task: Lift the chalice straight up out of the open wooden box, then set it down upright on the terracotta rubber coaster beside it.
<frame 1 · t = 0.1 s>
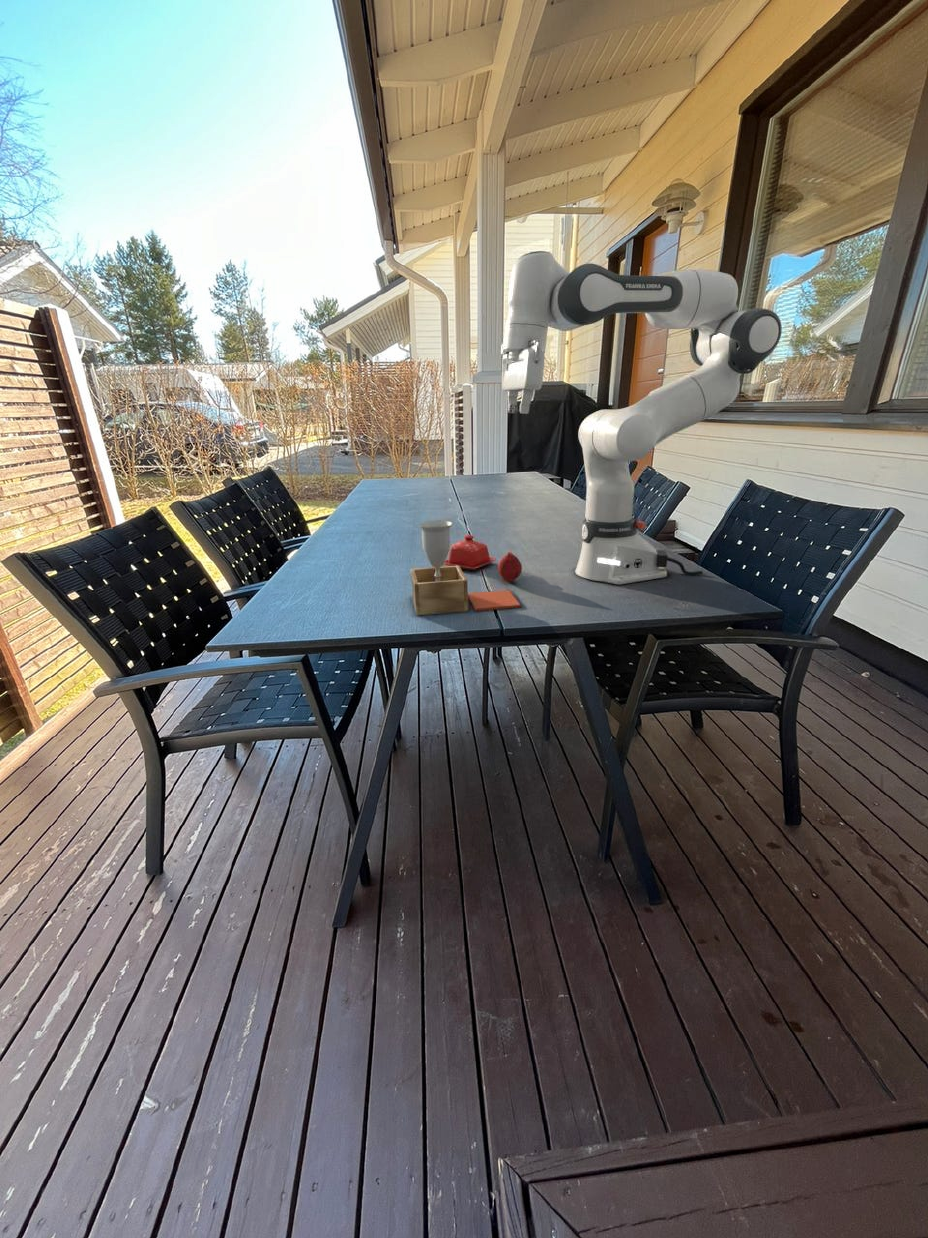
hand: (517, 413, 116), 39 cm above the table, tool pointing down, fingers open, 8 cm apart
onion: (509, 583, 130), on the table
open wooden box: (439, 604, 117), on the table
butter dish: (469, 566, 144), on the table
chalice: (439, 605, 117), resting in open wooden box
coaster: (492, 601, 118), on the table
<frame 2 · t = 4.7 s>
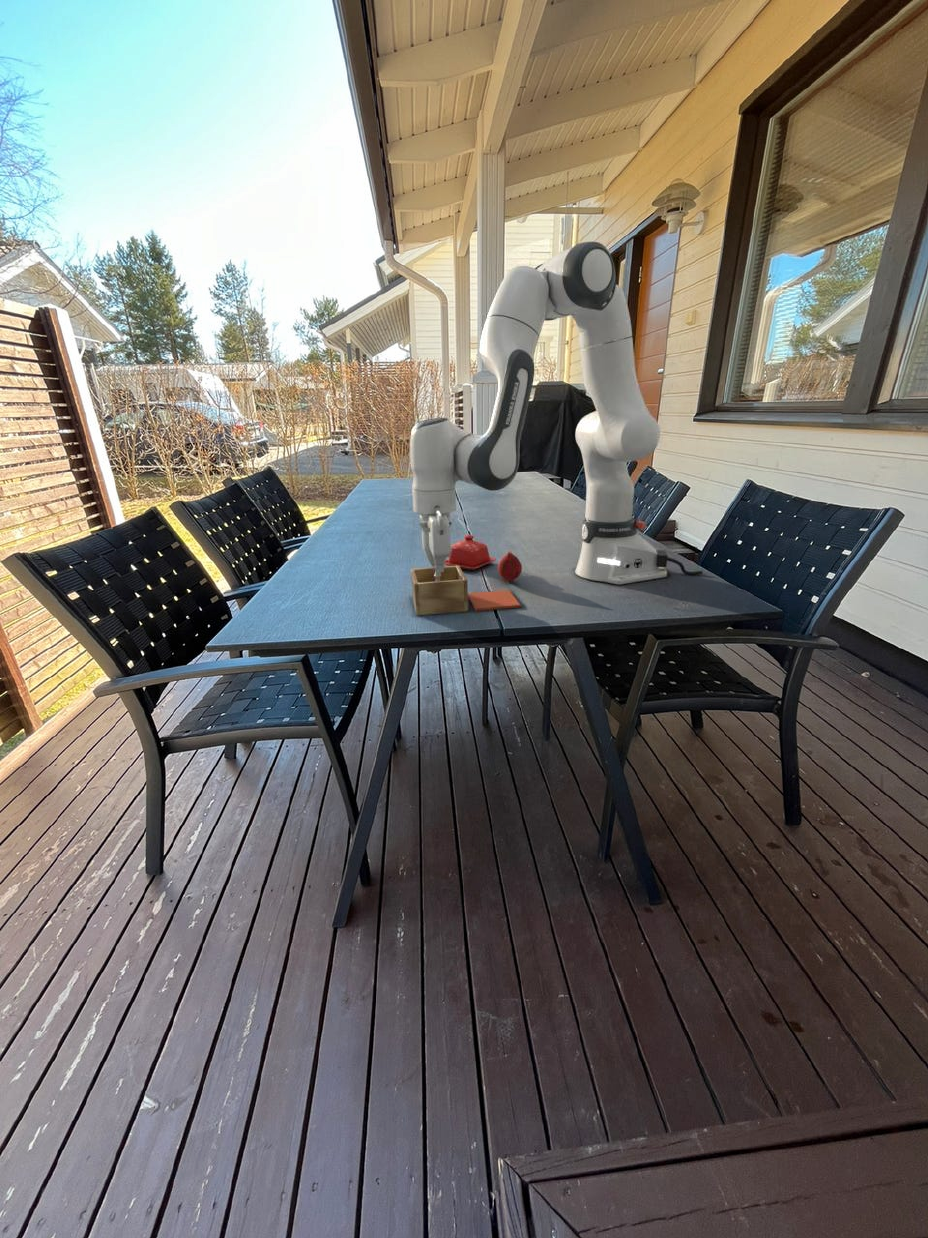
hand: (437, 567, 113), 9 cm above the table, tool pointing down, fingers closed on chalice, 5 cm apart
chalice: (439, 605, 117), resting in open wooden box, touching gripper
everything else where it was.
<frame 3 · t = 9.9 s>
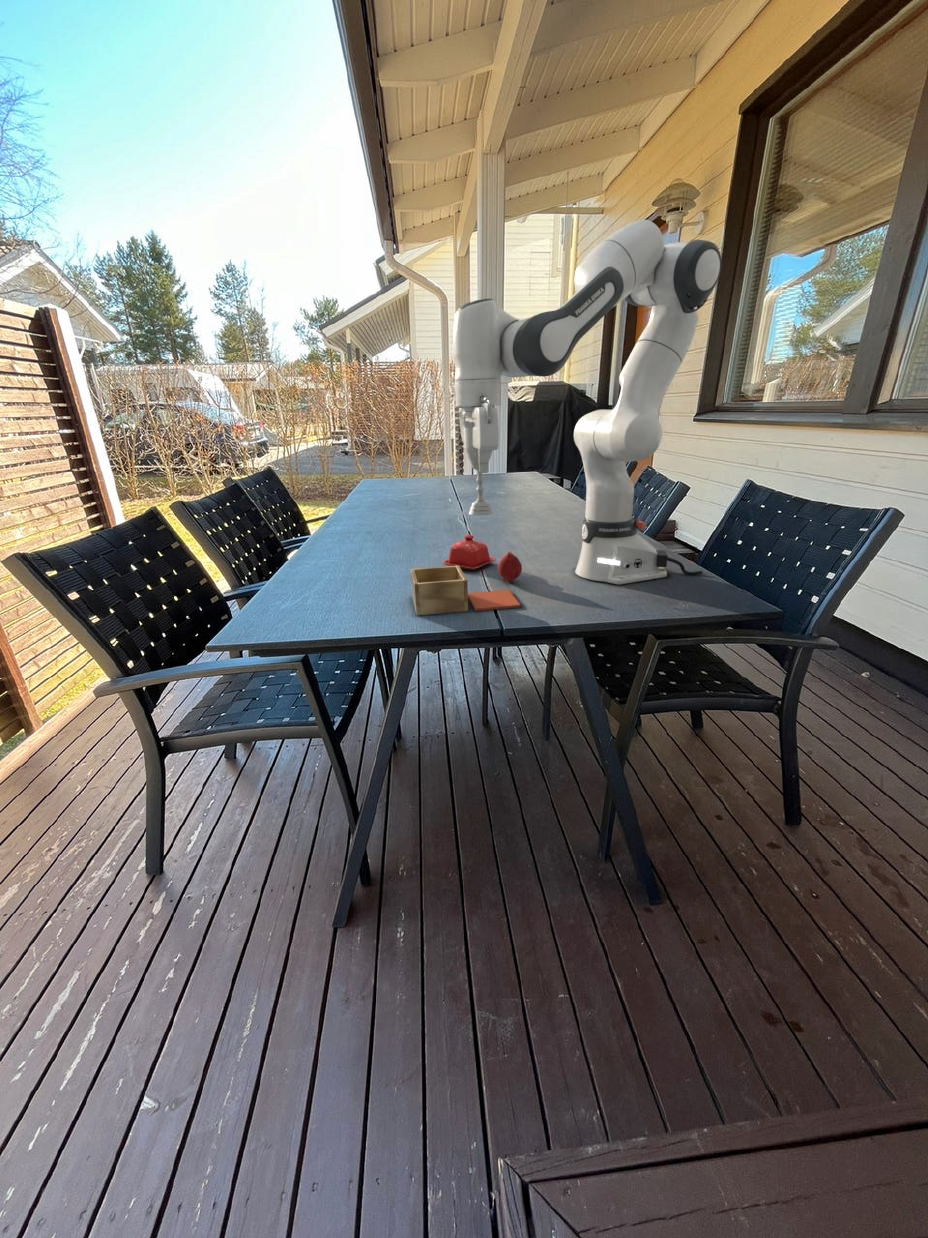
hand: (479, 470, 107), 29 cm above the table, tool pointing down, fingers closed on chalice, 5 cm apart
chalice: (480, 513, 110), point 20 cm above the table, touching gripper
everything else where it was.
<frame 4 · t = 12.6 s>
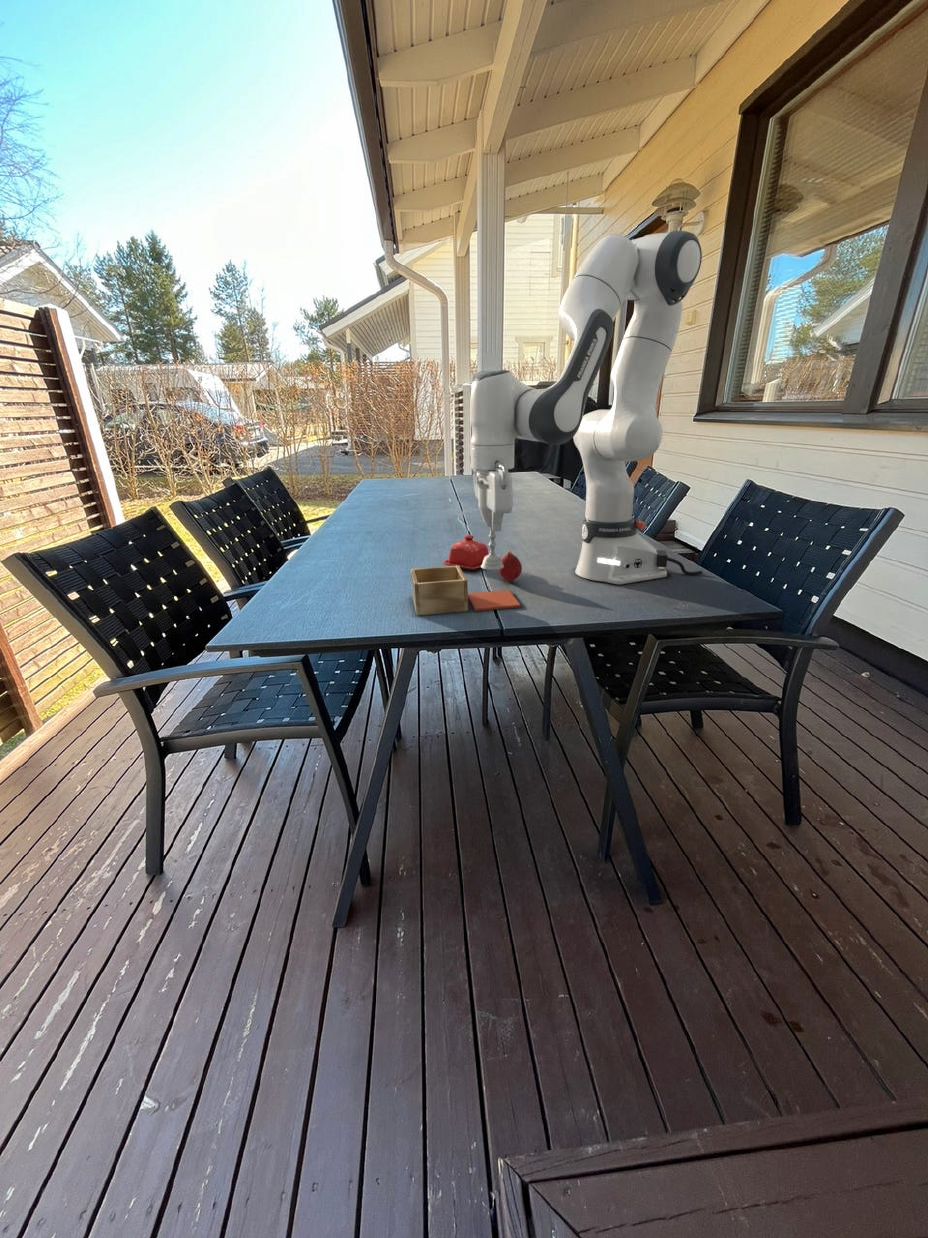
hand: (492, 527, 111), 17 cm above the table, tool pointing down, fingers closed on chalice, 5 cm apart
chalice: (492, 567, 114), point 8 cm above the table, touching gripper
everything else where it was.
when the fingers open (9 cm above the table, at t = 14.9 s): chalice stays where it is, resting on coaster.
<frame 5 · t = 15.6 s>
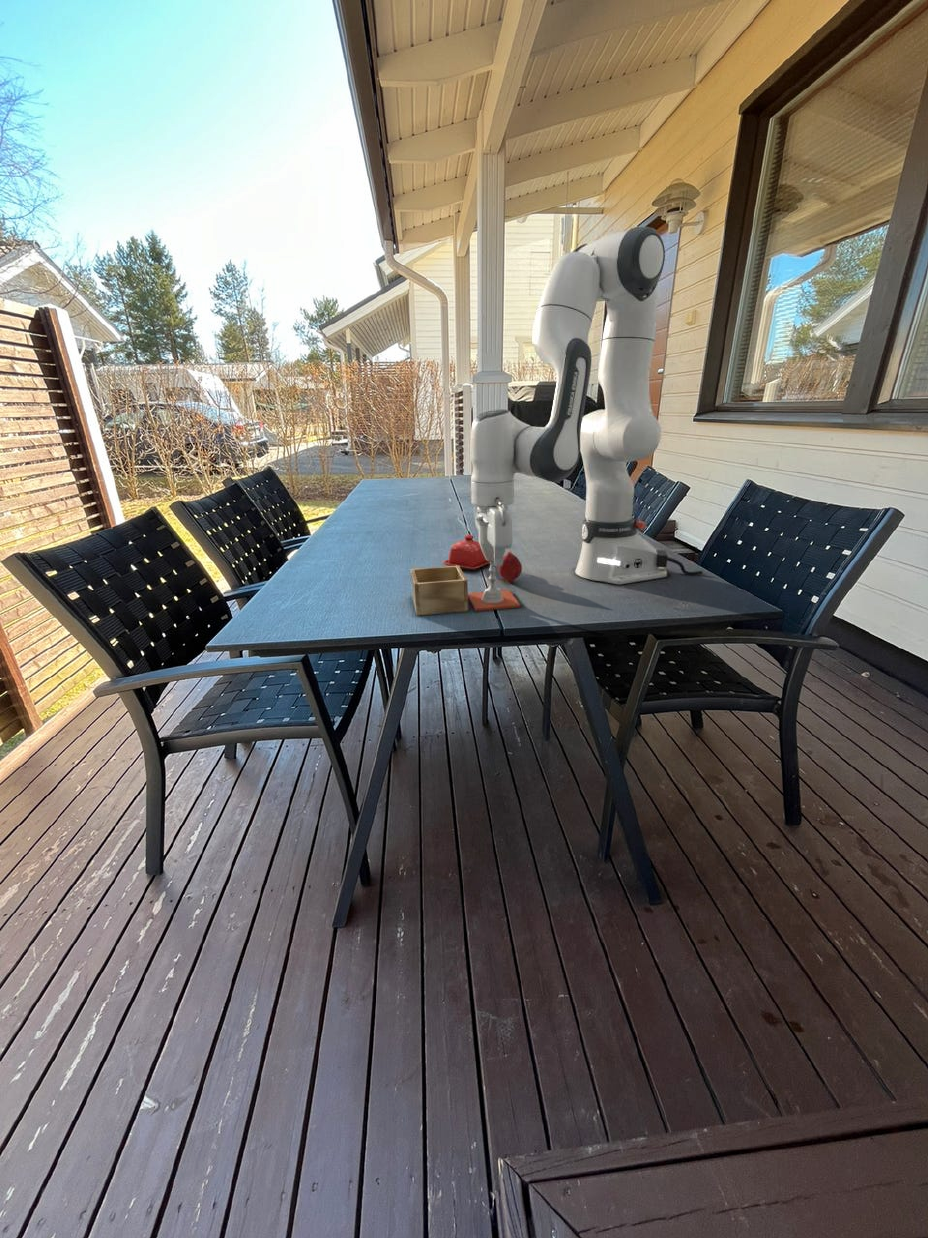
hand: (492, 559, 114), 10 cm above the table, tool pointing down, fingers open, 8 cm apart
chalice: (492, 599, 117), resting on coaster
everything else where it was.
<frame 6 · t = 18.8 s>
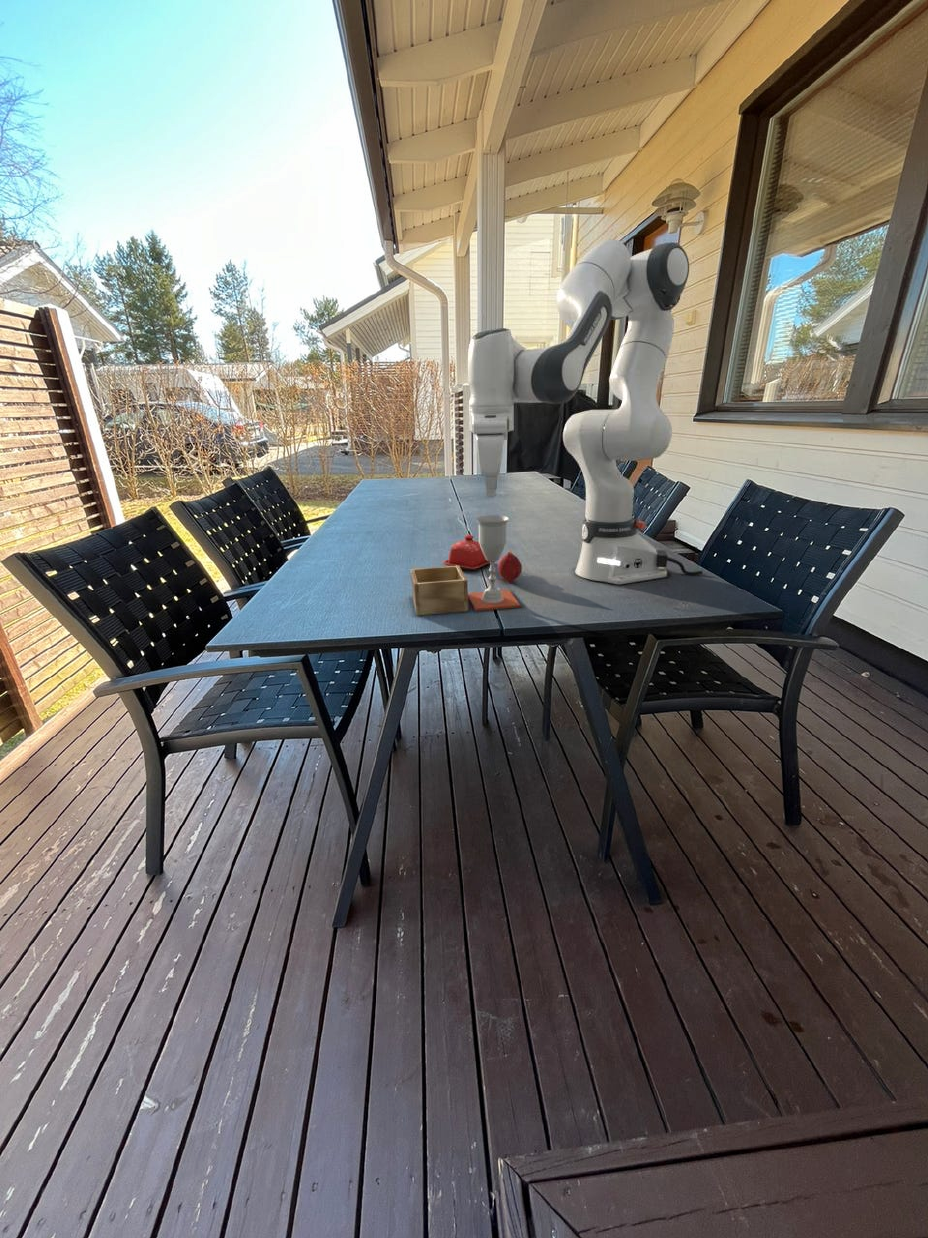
hand: (491, 493, 109), 24 cm above the table, tool pointing down, fingers open, 8 cm apart
nothing on the table moved.
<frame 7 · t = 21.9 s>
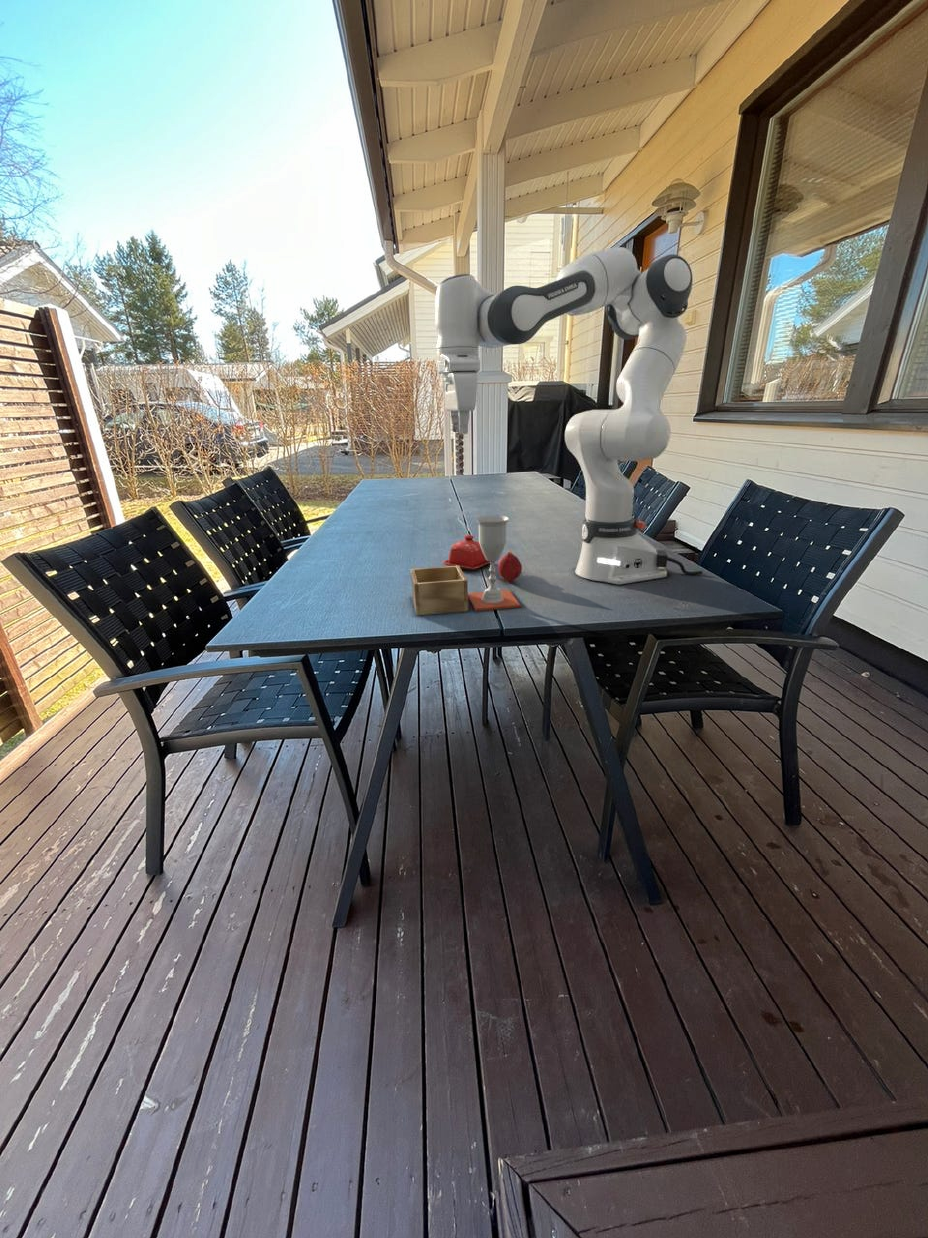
hand: (459, 432, 117), 35 cm above the table, tool pointing down, fingers open, 8 cm apart
nothing on the table moved.
at the end: chalice inside the target area on the coaster (0.1 cm from its centre), point 0.4 cm above the coaster's base; chalice tilted 0°; chalice touching coaster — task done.
